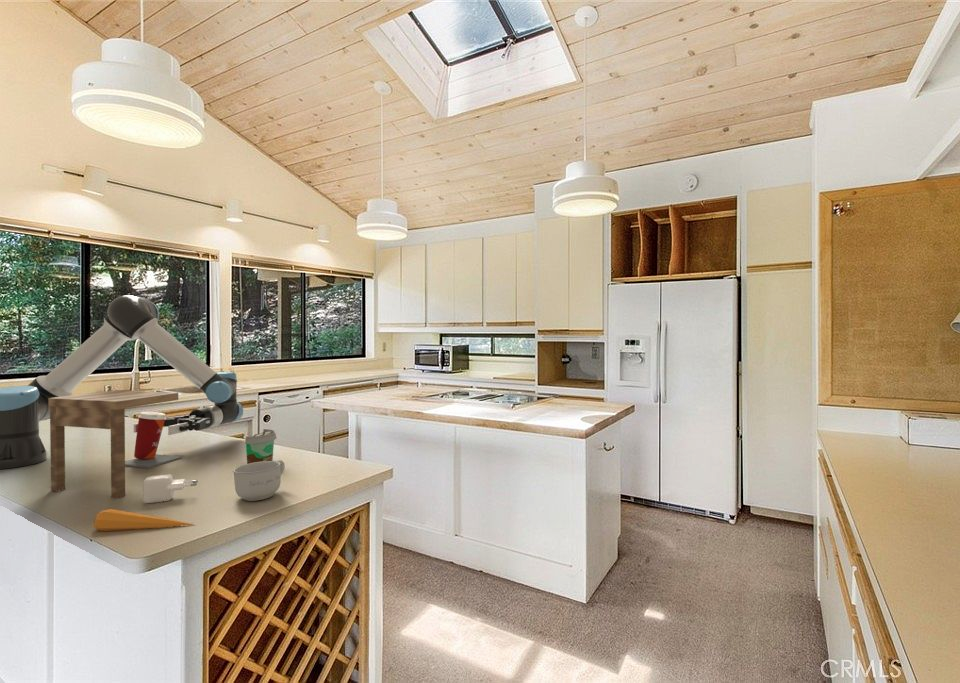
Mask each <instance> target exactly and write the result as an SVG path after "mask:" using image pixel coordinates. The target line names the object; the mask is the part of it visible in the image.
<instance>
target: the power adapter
mask: <svg viewBox="0 0 960 683" xmlns="http://www.w3.org/2000/svg"><path fill="white" fill-rule="evenodd" d="M198 483H199V480H198V479H195V480H194V479H193V480H186V478H180V479H174V476H173V474H160V475H151V476H147V477H146V478H145V479H144V481H143V484H142V497H143V500H142V501H143V503H144V504H153V503H154V504H155V502H156V503H161V502H162V503H164V502H168V501H170V500H172V499H173V496H174V491H175V492H176V491H182V490H184V489H185V488H186V487H196V486H197V485H198ZM163 501H164V502H163Z"/></svg>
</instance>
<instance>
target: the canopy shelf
mask: <svg viewBox="0 0 960 683" xmlns="http://www.w3.org/2000/svg"><path fill="white" fill-rule="evenodd" d="M172 401H179V392H168V391H167V392H166V391H146V390H145V391H144V390H125V389H123V390H122V389H112V390H107V391H105V390H104V391H100V392H99V391H98V392H97V391H96V392H87V393H81V394H74V395H73V394H72V395H71V396H63V397H54V398H48V404H49V406H50V419H49V422H50V423H49V426H50V427H49V428H50V431H49V432H50V435H49V436H50V437H49V438H50V439H49V440H50V445H49V446H50V448H49V449H50V451H49V452H50V491H51V492H59V490H60V491H63V490H62V489H64V490H66V450H65V449H66V443H65V441H66V440H65V438H66V436H65V435H66V434H65V432H66V431H65V429H66V427H70V428H89V429H100V430H102V429H103V430H110V497H111V498H113V499H119V498H122V497H125V496H126V466H125V461H126V434H125V433H126V431H125V430H126V426H125V424H126V423H125V422H126V420H125V416H126V414H125V413H126V412H125V409H130V408H137V407H141V406H147V405H148V406H149V405H153V404H162V403H168V402H172Z"/></svg>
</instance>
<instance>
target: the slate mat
mask: <svg viewBox="0 0 960 683" xmlns="http://www.w3.org/2000/svg"><path fill="white" fill-rule="evenodd" d="M181 459H183V456H181V455H169V454H157V453H156V455H155V458H152V459H138V458H132V459H129V460H125V467H129V466H130V467H133V468H140V467H141V468H143V469H151V468H154V467H158V466H160V465H161V466H162V465H164V464H168V463H171V462H174V461H177V460H181ZM130 467H129V468H130Z"/></svg>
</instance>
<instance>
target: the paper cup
mask: <svg viewBox="0 0 960 683" xmlns="http://www.w3.org/2000/svg"><path fill="white" fill-rule="evenodd" d="M137 417H138V420H137V422H138V428H137V432H136V435H135V443H134V444H135V445H134V453H133V457H134V459H136V458H138V459H152V458H155V455H156V454H157V451H158V447H159V444H160V439H161V436H162V432H163V428H164V427H163V425H164V421H165V419H166V418H167V417H166V413H164V412H163V413H162V412H156V411H141V412H140V413H139V415H138V416H137Z"/></svg>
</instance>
